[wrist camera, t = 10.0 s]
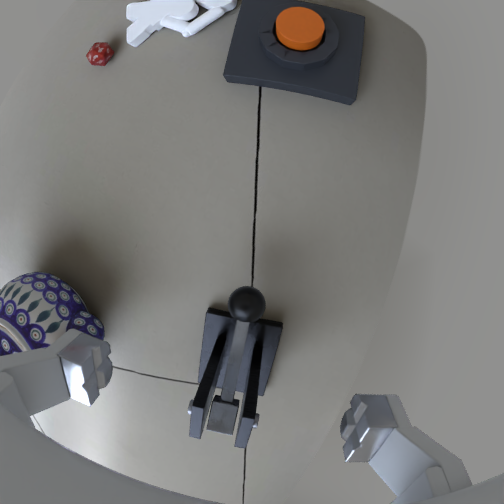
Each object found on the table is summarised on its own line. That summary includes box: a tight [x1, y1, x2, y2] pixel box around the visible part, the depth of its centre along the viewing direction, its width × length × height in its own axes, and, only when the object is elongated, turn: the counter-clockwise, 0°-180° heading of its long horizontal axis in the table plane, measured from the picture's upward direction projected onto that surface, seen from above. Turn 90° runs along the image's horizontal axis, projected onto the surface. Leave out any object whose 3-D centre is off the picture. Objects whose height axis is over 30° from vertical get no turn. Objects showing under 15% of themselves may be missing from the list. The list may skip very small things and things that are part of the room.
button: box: [276, 7, 325, 51], centre depth 19 cm, size 4×4×2 cm
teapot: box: [0, 272, 105, 356], centre depth 26 cm, size 25×15×15 cm, turn 94°
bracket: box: [188, 308, 283, 448], centre depth 26 cm, size 10×8×12 cm
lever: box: [207, 286, 266, 435], centre depth 23 cm, size 13×3×3 cm, turn 169°
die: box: [86, 43, 114, 66], centre depth 23 cm, size 3×3×3 cm
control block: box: [223, 0, 365, 105], centre depth 21 cm, size 12×10×4 cm
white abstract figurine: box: [126, 0, 237, 47], centre depth 21 cm, size 9×12×2 cm
